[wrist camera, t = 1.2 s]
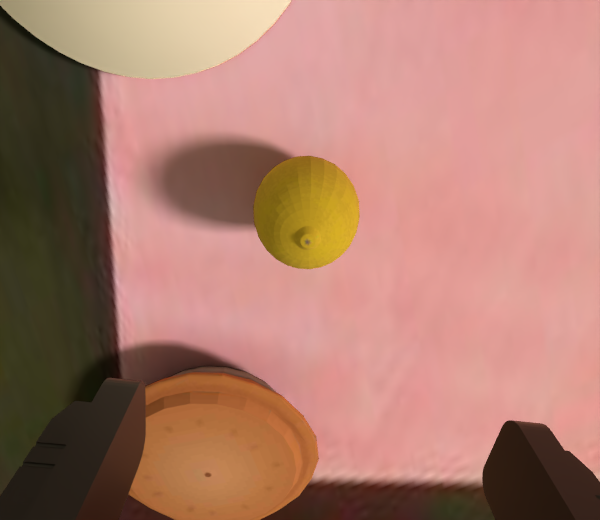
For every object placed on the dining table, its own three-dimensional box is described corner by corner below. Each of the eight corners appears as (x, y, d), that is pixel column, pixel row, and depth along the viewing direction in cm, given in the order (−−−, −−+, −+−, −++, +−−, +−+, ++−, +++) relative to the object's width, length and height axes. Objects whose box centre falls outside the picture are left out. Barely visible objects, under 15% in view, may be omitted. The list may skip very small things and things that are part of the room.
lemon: (246, 159, 26) (227, 203, 19) (336, 130, 25) (352, 164, 18) (276, 241, 28) (269, 308, 21) (360, 216, 28) (382, 277, 20)
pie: (98, 451, 37) (70, 508, 32) (157, 311, 31) (133, 356, 26) (266, 504, 40) (262, 562, 35) (350, 386, 34) (358, 438, 29)
